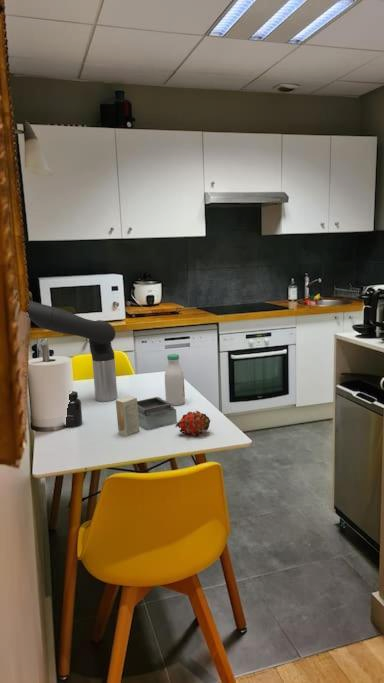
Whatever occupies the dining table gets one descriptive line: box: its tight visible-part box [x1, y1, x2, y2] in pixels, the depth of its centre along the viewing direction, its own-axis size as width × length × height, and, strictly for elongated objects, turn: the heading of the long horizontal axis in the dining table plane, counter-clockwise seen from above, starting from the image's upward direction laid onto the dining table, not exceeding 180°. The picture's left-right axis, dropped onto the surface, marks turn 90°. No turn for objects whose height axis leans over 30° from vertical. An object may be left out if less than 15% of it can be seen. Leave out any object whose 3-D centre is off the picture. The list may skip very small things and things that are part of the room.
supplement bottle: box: [66, 390, 83, 428], centre depth 181 cm, size 7×7×12 cm
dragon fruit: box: [175, 410, 211, 437], centre depth 168 cm, size 8×8×12 cm
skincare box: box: [115, 395, 140, 437], centre depth 171 cm, size 6×4×12 cm
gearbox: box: [137, 396, 178, 431], centre depth 183 cm, size 16×12×6 cm
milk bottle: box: [164, 353, 186, 407], centre depth 200 cm, size 8×8×20 cm
